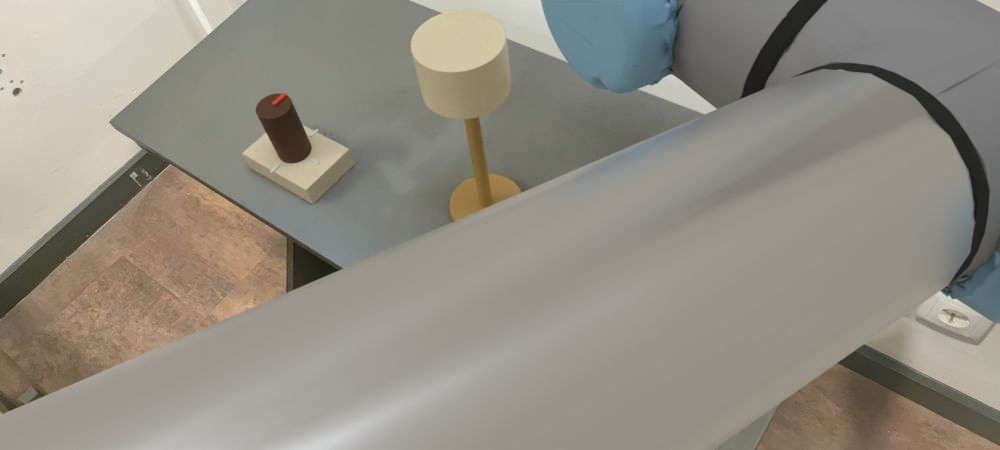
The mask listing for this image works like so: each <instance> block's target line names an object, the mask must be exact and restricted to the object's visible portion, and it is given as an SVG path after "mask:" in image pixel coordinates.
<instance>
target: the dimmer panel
mask: <svg viewBox="0 0 1000 450" xmlns="http://www.w3.org/2000/svg"><path fill="white" fill-rule="evenodd" d="M302 125H303V127H304V130H305V132H306V134H307V136H308V138H309V141H310V143H311V146H312V148H311V152H310V154H309V155H308V156H307V157H306V158H305V159H303V160H302V161H299V162H296V163H286V162H283V161H282V160H280V158H279V157H278V155H277V153H276V151H275V149H274V147H273V145H272V143H271V141H270V139H269V137H268V135H267V133H266V132H264V133H263V134H262V135H261V136H260V137H259V138H257V140H256V141H254V142H253V143H252V144H251V145H249V146H248V147H247V148H246V149H245V150H244V151H243V152H242V153H241V154H242V156H243V157H244V159H245V161H246V163H247V165H248V166H249V168H250V169H251V170H252V171H254V172H256V173H258V174H260V175H261V176H263V177H265V178H267V179H269V181H272V182H274V183H275V184H277V185H278V186H281V187H282V188H284V189H286V190H287V191H289V192H291V193H292V194H294V195H296V196H298V197H300V198H301V199H303V200H305V201H306V202H308V203H309V204H312V205H315V204H316V202H318V201H319V200H320V199H321V198H322V197H323V196H324V195H325V194H326V193H327V192H328V191H329V190H330V189H332V187H334V185H335V184H336V183H338V181H340V179H341V178H343V177H344V176H345V174H347V172H349V171H350V170H351V169H352V168H353V167H354V166H355V165H356V163H355V161H354V158H353V155H352V153H351V150H350V148H348V147H346V146H345V145H342V144H340V143H339V142H337V141H335V140H333V139H331V138H329V137H327V136H326V135H323V134H321V133H319V131H320V130H319V129H318V128H316V129H315V130H314V129H313V128H312V129H311V128H310V127H308V126H307V125H304V124H302Z"/></svg>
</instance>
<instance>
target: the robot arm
mask: <svg viewBox="0 0 1000 450" xmlns="http://www.w3.org/2000/svg"><path fill="white" fill-rule="evenodd" d="M540 2H541V7H542V12H543V15H544V18H545V21H546V24H547V26H548V29H549V32H550V35H551V36H552V38H553V40H554V42H555V45H556V46H557V48H558V50H559V51H560V53H561V54H562V56H563V57H564V59H565V60H566V61H567V63H568V64H569V66H571V68H572V69H573V70H574V72H576V74H577V75H578V76H580V77H581V79H583V80H584V81H585V82H587V83H588V84H589V85H591V86H592V87H593V88H596V89H599V90H608V91H610V92H612V93H616V94H621V95H622V94H625V93H630V92H634V91H636V90H639V89H641V88H644V87H647V86H654V85H657V84H659V82H661V81H662V80H663V79H664V78H666V77H667V76H670V75H672V76H674V77H675V78H676V79H678V80H679V81H681V82H682V83H683V84H685V85H686V87H688V88H689V89H690V90H692V91H693V92H695V93H696V95H699V96H700V98H702V99H704V100H705V101H706V102H707V103H708V104H710V105H711V106H712V107H714V108H715V109H714V110H712V111H710V112H707V113H704V114H702V115H700V116H698V117H695V118H693V119H691V120H688V121H686V122H683V123H681V124H679V125H676V126H675V127H672V128H669V129H667V130H665V131H662V132H659V133H658V134H656V135H653V136H651V137H649V138H646V139H644V140H641V141H640V142H637V143H635V144H631V145H630V146H628V147H625V148H622V149H621V150H617V151H616V152H613V153H611V154H609V155H606V156H604V157H602V158H599V159H596V160H595V161H592V162H590V163H587V164H585V165H583V166H581V167H579V168H576V169H573V170H570V171H569V172H566V173H564V174H562V175H559V176H557V177H555V178H552V179H550V180H548V181H546V182H543V183H540V184H539V185H536V186H534V187H532V188H531V187H530V188H529V189H527V190H524V191H521V192H522V193H520V194H517V195H515V196H513V197H510V198H508V199H506V200H503V201H501V202H498V203H496V204H494V205H491V206H489V207H487V208H484V209H482V210H480V211H477V212H475V213H473V214H470V215H468V216H466V217H463V218H461V219H459V220H456V221H454V222H453V221H452V222H449V223H447V224H444V225H442V226H440V227H438V228H435V229H433V230H430V231H428V232H426V233H424V234H421V235H419V236H417V237H414V238H411V239H409V240H407V241H405V242H402V243H400V244H398V245H396V246H393V247H391V248H388V249H386V250H384V251H382V252H379V253H376V254H374V255H372V256H370V257H368V258H365V259H363V260H360V261H358V262H355V263H353V264H351V265H349V266H346V267H344V268H342V269H339V270H336V271H335V272H332V273H329V274H327V275H325V276H323V277H321V278H318V279H315V280H314V281H311V282H309V283H307V284H304V285H302V286H300V287H296V288H295V289H292V290H290V291H288V292H286V293H283V294H281V295H279V296H276V297H274V298H272V299H269V300H267V301H264V302H262V303H259V304H257V305H255V306H253V307H250V308H248V309H245V310H242V311H241V312H239V313H236V314H234V315H231V316H229V317H227V318H225V319H222V320H220V321H218V322H215V323H213V324H211V325H208V326H206V327H202V329H199V330H197V331H194V332H192V333H189V334H187V335H185V336H183V337H180V338H178V339H175V340H173V341H171V342H168V343H166V344H163V345H161V346H158V347H157V348H154V349H151V350H149V351H147V352H144V353H142V354H139V355H138V356H135V357H133V358H131V359H129V360H126V361H123V362H122V363H119V364H117V365H114V366H112V367H109V368H107V369H104V370H102V371H100V372H97V373H95V374H94V375H90V376H89V377H87V378H84V379H82V380H80V381H76V382H74V383H72V384H69V385H67V386H65V387H62V388H60V389H59V390H56V391H54V392H53V391H52V392H51V393H49V394H46V395H44V396H42V397H39V398H37V399H35V400H32V401H29V402H28V403H25V404H23V405H20V406H18V407H16V408H13V409H11V410H9V411H6V412H4V413H2V414H0V450H716V448H718V447H719V446H721V445H723V444H724V443H725V442H727V441H728V440H730V439H732V437H734V436H736V435H737V434H738V433H740V432H741V431H743V430H744V429H745V428H747V427H748V426H750V425H751V424H753V423H754V422H755V421H756V420H758V419H760V418H761V417H763V416H764V415H765V414H767V413H768V412H770V411H771V410H773V409H774V408H775V407H777V406H778V405H779V404H781V403H782V402H784V401H785V400H786V399H788V398H789V397H791V396H792V395H793V394H795V393H797V392H798V391H800V390H801V389H802V388H804V387H805V386H806V385H808V384H810V383H811V382H813V381H814V380H816V379H817V378H818V377H819V376H821V375H822V374H824V373H825V372H826V371H828V370H830V369H831V368H832V367H834V366H835V365H836V364H839V362H840V361H842V360H844V359H845V358H846V357H848V356H850V355H851V354H852V353H853V352H855V351H856V350H858V349H859V348H861V347H862V346H863V345H865V344H867V343H868V342H869V341H871V340H872V339H873V338H875V337H877V336H878V335H879V334H881V333H882V332H884V331H885V330H886V329H887V328H889V327H890V326H892V325H894V324H895V323H897V322H898V321H900V320H901V319H902V318H904V317H905V316H906V315H908V314H909V313H910V312H912V311H913V310H915V309H916V308H918V307H920V306H921V305H923V304H924V303H925V302H927V301H928V300H930V299H931V298H932V297H934V296H935V295H936V294H938V293H939V292H941V293H942V294H943V295H945V297H947V298H949V297H950V299H951V300H957V301H959V302H960V303H962V304H963V305H965V306H967V308H970V309H971V310H973V311H974V312H976V313H977V314H979V315H981V316H982V317H984V318H985V319H987V320H988V321H991V322H992V323H994V324H999V325H1000V11H999V10H998V9H997V10H996V8H993V7H991V6H990V5H987V4H985V3H983V2H981V1H980V0H540Z"/></svg>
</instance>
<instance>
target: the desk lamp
mask: <svg viewBox="0 0 1000 450" xmlns="http://www.w3.org/2000/svg"><path fill="white" fill-rule="evenodd" d="M508 47H509V46H508V37H507V31H506V28H505V26H504V25H503V23H502V22H501V21H500V19H498V18H497V17H495V16H494V15H492V14H489V13H488V12H484V11H481V10H477V9H455V10H449V11H445V12H442V13H439V14H436V15H433V16H432V17H431V18H429V19H427V20H426V21H425V22H423V23H422V24H421V25H420V26H419V27H417V29H416V30H415V32H414V33H413V35H412V37H411V39H410V52H411V56H412V60H413V63H414V68H415V72H416V77H417V80H418V85H419V89H420V93H421V97H422V101H423V103H424V104H425V106H426V107H427V108H428V109H429V110H430V111H432V112H433V113H435V114H436V115H438V116H441V117H443V118H446V119H449V120H451V119H452V120H464V125H465V132H466V137H467V143H468V148H469V152H470V153H469V154H470V159H471V165H472V169H473V176H471V177H468V178H466V179H465V180H464V181H462V182H461V183H460V184H459V185H458V186H457V187H456V188H454V190H453V191H452V194H451V196H450V197H449V204H448V205H449V212H450V217H451V221H452V222H454V221H456V220H459V219H461V218H463V217H466V216H468V215H470V214H473V213H475V212H477V211H480V210H482V209H484V208H487V207H489V206H491V205H494V204H496V203H498V202H501V201H503V200H506V199H508V198H510V197H513V196H515V195H517V194H520V193H522V192H523V191H522V190H521V188H520V186H519V185H518V184H517V183H515V181H513V180H512V179H510V178H508V177H507V176H504V175H501V174H496V173H489V170H488V164H487V163H488V162H487V157H486V152H485V145H484V137H483V132H482V126H481V118H480V117H483V116H486V115H488V114H490V113H492V112H494V111H496V110H497V109H498V108H499V107H501V106H502V105H503V104H504V102H506V100H507V99H508V97H509V95H510V93H511V90H512V76H511V67H510V57H509V48H508Z"/></svg>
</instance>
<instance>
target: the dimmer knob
mask: <svg viewBox="0 0 1000 450" xmlns="http://www.w3.org/2000/svg"><path fill="white" fill-rule="evenodd" d="M255 113H256V116H257V119H258V120H259V121H260V124H261V125H262V128H263V129H264V131H265V133H267V135H268V137H269V139H270V141H271V143H272V145H273V147H274V149H275V151H276V153H277V155H278V157H279V158H280V160H282V161H283V162H286V163H296V162H299V161H302V160H303V159H305V158H306V157H307V156H308V155H309V154H310V152H311V148H312V146H311V143H310V141H309V138H308V136H307V134H306V132H305V130H304V127H303V125H304V124H303V122H302V121H301V118H300V116H299V114H298V112H297V109H296V108H295V105H294V103H293V101H292V98H291V97H290V96H289V95H288V94H287V93H286V92H282V93H279V92H278V93H272V94H269V95H266V96H264V97H263V98H261V99H260V101H258V103H257V104H256V107H255Z"/></svg>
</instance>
